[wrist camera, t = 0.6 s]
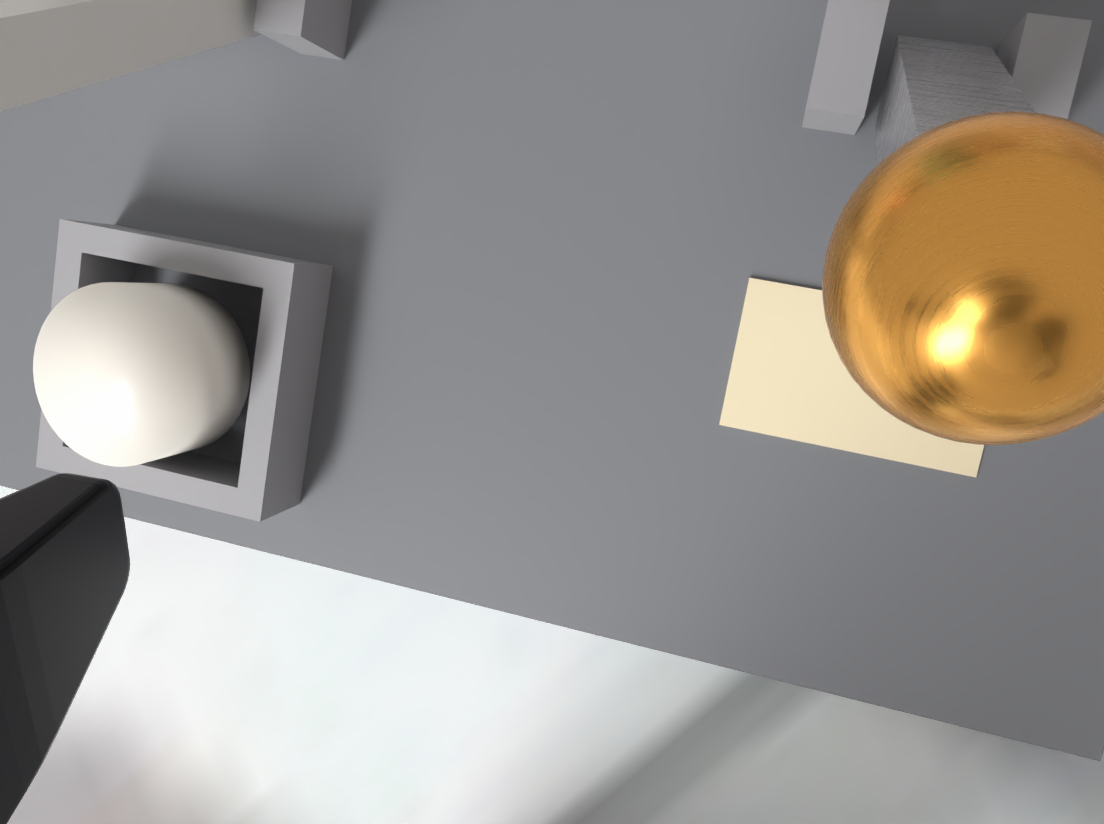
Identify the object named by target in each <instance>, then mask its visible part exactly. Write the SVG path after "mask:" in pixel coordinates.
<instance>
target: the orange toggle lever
mask: <svg viewBox="0 0 1104 824" xmlns="http://www.w3.org/2000/svg"><path fill="white" fill-rule="evenodd" d="M875 137H876V155H877V166H876V167H875V168H874V169H873V170H872V171H871V172H870V173H869V174H868V175H867V176H866V177H865V179H864V180H863V181H862V182H861V183H860V185H859V186H858V187H857V188H856V189H855V191H854V192H853V193H852V195H851V197H850V198H849V200H848V201H847V203H846V204H845V206H844V208H843V209H842V211H841V213H840V215H839V218H838V220H837V222H836V224H835V226H834V228H833V232H832V235H831V238H830V241H829V245H828V248H827V251H826V255H825V261H824V267H823V275H822V296H823V305H824V313H825V320H826V323H827V327H828V330H829V334H830V337H831V340H832V342H833V344H834V346H835V349H836V351H837V353H838V355H839V357H840V359H841V361H842V363H843V364H844V366H845V368H846V369H847V371H848V372H849V374H850V376H851V377H852V378H853V379H854V381H855V382H856V383H857V384H858V385H859V387H860V388H861V389H862V390H863V391H864V392H865V393H866V394H867V395H868V396H869V397H870V398H871V399H872V400H874V401H875V402H876V403H877V404H878V405H879V406H880V407H881V408H882V409H884V410H885V411H887V412H888V413H890V414H891V415H893V416H894V417H895V418H897V419H898V420H900V421H902V422H904V423H906V424H908V425H910V426H912V427H914V428H916V429H918V430H921V431H924V432H926V433H929V434H932V435H934V436H937V437H941V438H944V439H948V440H952V441H956V442H962V443H969V444H976V445H1008V444H1019V443H1025V442H1031V441H1037V440H1041V439H1044V438H1048V437H1051V436H1055V435H1058V434H1061V433H1063V432H1066V431H1068V430H1071V429H1073V428H1076V427H1078V426H1080V425H1082V424H1084V423H1086V422H1088V421H1090V420H1091V419H1093V418H1095V417H1097V416H1098V415H1100V414H1101V413H1103V412H1104V135H1103V134H1101V133H1099V132H1098V131H1096V130H1094V129H1092V128H1090V127H1088V126H1085V125H1083V124H1080V123H1077V122H1074V121H1071V120H1068V119H1065V118H1061V117H1056V116H1051V115H1046V114H1041V113H1036V112H1035V110H1034V109H1033V107H1032V106H1031V104H1030V103H1029V101H1028V100H1027V99H1026V97H1025V96H1024V94H1023V93H1022V91H1021V90H1020V88H1019V87H1018V86H1017V84H1016V83H1015V81H1014V80H1013V78H1012V77H1011V75H1010V74H1009V72H1008V71H1007V70H1006V68H1005V67H1004V65H1003V64H1002V62H1001V61H1000V59H999V58H998V56H997V55H996V54H995V52H994V51H993V49H992V48H991V47H987V46H979V45H971V44H964V43H956V42H948V41H940V40H932V39H924V38H916V37H908V36H901V35H897V37H896V41H895V45H894V49H893V54H892V58H891V62H890V66H889V70H888V74H887V78H886V82H885V86H884V90H883V94H882V98H881V102H880V106H879V111H878V115H877V119H876V123H875Z"/></svg>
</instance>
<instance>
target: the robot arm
mask: <svg viewBox="0 0 1104 824" xmlns="http://www.w3.org/2000/svg"><path fill="white" fill-rule="evenodd" d="M129 570H130V557H129V550H128V543H127V536H126V529H125V522H124V515H123V508H122V501H121V496H120V492H119V490H118V488H117V487H116V485H115V484H114V483H112V482H111V481H109V480H106V479H101V478H96V477H90V476H84V475H78V474H72V473H60V474H56V475H54V476H51V477H48V478H46V479H44V480H42V481H39V482H37V483H35V484H32V485H30V486H28V487H26V488H23V489H21V490H19V491H16V492H14V493H12V494H10V495H7V496H5V497H3V498H1V499H0V824H7V822H8V821H9V819H10V817H11V816H12V814H13V812H14V811H15V809H16V807H17V806H18V804H19V802H20V801H21V799H22V798H23V796H24V794H25V793H26V791H27V789H28V787H29V786H30V784H31V782H32V780H33V779H34V777H35V775H36V774H37V772H38V770H39V768H40V767H41V765H42V763H43V761H44V759H45V757H46V755H47V753H48V751H49V749H50V747H51V745H52V743H53V741H54V739H55V737H56V735H57V733H58V731H59V729H60V727H61V725H62V723H63V721H64V719H65V716H66V714H67V712H68V710H69V708H70V706H71V704H72V701H73V699H74V697H75V695H76V693H77V691H78V689H79V687H80V684H81V682H82V680H83V678H84V676H85V674H86V672H87V670H88V667H89V665H90V663H91V661H92V659H93V657H94V655H95V652H96V650H97V648H98V646H99V644H100V642H101V640H102V638H103V635H104V633H105V631H106V629H107V627H108V625H109V623H110V620H111V618H112V616H113V614H114V612H115V610H116V608H117V606H118V603H119V601H120V599H121V597H122V595H123V593H124V590H125V588H126V584H127V581H128V576H129Z"/></svg>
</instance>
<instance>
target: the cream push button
mask: <svg viewBox="0 0 1104 824" xmlns="http://www.w3.org/2000/svg"><path fill="white" fill-rule="evenodd" d="M33 377H34V385H35V390H36V395H37V398H38V401H39V404H40V407H41V409H42V411H43V413H44V416H45V417H46V419H47V421H48V423H49V424H50V426H51V427H52V429H53V430H54V431H55V433H56V434H57V435H58V436H59V437H60V439H61V440H62V441H63V442H64V443H65V444H66V445H68V446H69V447H70V448H71V449H72V450H74V451H75V452H77V453H78V454H80V455H81V456H83V457H85V458H87V459H89V460H91V461H93V462H96V463H100V464H103V465H108V466H114V467H128V466H135V465H139V464H143V463H146V462H150V461H154V460H157V459H161V458H165V457H169V456H172V455H176V454H180V453H183V452H187V451H191V450H194V449H198V448H201V447H204V446H206V445H208V444H211V443H212V442H214V441H215V440H217V439H219V438H220V437H221V436H222V435H223V434H225V433H226V432H227V431H228V430H229V429H230V427H231V426H232V425H233V424H234V423H235V421H236V420H237V418H238V417H239V415H240V413H241V411H242V409H243V407H244V404H245V401H246V398H247V395H248V390H249V384H250V361H249V356H248V350H247V347H246V344H245V340H244V338H243V336H242V333H241V331H240V329H239V327H238V326H237V324H236V322H235V320H234V319H233V318H232V316H231V315H230V314H229V312H228V311H227V310H226V309H225V308H224V307H223V306H222V305H221V304H220V303H219V302H218V301H216V300H215V299H214V298H213V297H211V296H209V295H208V294H206V293H204V292H203V291H201V290H198V289H196V288H194V287H190V286H187V285H183V284H175V283H127V282H102V283H96V284H91V285H88V286H85V287H82V288H79V289H78V290H76V291H74V292H72V293H70V294H69V295H68V296H66V297H65V298H63V299H62V300H61V301H60V302H59V303H58V304H57V305H56V306H55V307H54V308H53V310H52V311H51V312H50V313H49V315H48V316H47V318H46V320H45V322H44V323H43V325H42V327H41V330H40V332H39V335H38V338H37V341H36V345H35V350H34V357H33Z"/></svg>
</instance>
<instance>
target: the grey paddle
mask: <svg viewBox="0 0 1104 824" xmlns="http://www.w3.org/2000/svg"><path fill="white" fill-rule="evenodd" d="M256 4H257V0H0V112H1V111H4V110H8V109H11V108H14V107H18V106H21V105H24V104H28V103H31V102H34V101H38V100H41V99H45V98H48V97H51V96H55V95H58V94H61V93H65V92H68V91H72V90H75V89H78V88H82V87H85V86H88V85H92V84H95V83H98V82H102V81H105V80H109V79H112V78H115V77H119V76H122V75H125V74H129V73H132V72H135V71H139V70H142V69H146V68H149V67H152V66H156V65H159V64H162V63H166V62H169V61H173V60H176V59H179V58H183V57H186V56H189V55H193V54H196V53H199V52H203V51H206V50H210V49H213V48H216V47H220V46H223V45H226V44H230V43H233V42H237V41H240V40H243V39H247V38H250V37H253V36H257V35H260V34H261V33H259V32H257V31H255V30H253V29H254V20H255V12H256Z"/></svg>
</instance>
